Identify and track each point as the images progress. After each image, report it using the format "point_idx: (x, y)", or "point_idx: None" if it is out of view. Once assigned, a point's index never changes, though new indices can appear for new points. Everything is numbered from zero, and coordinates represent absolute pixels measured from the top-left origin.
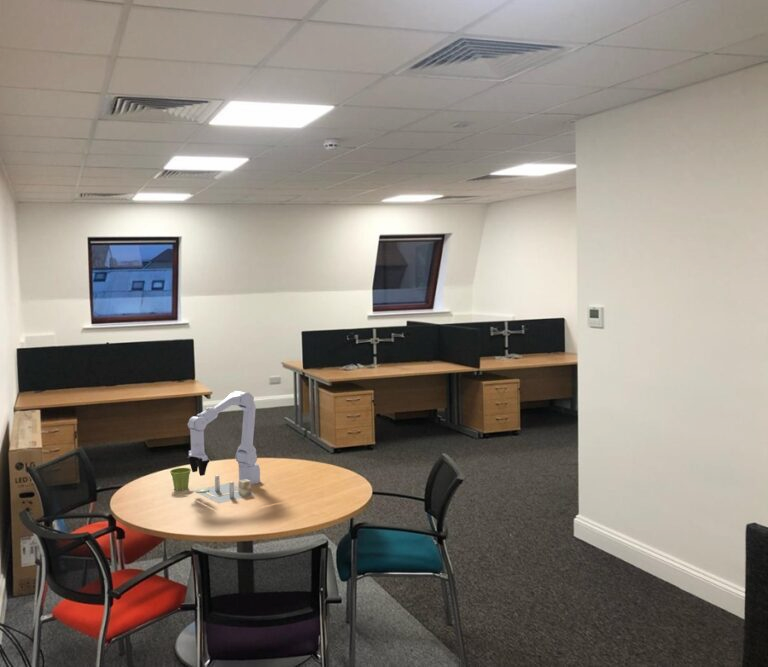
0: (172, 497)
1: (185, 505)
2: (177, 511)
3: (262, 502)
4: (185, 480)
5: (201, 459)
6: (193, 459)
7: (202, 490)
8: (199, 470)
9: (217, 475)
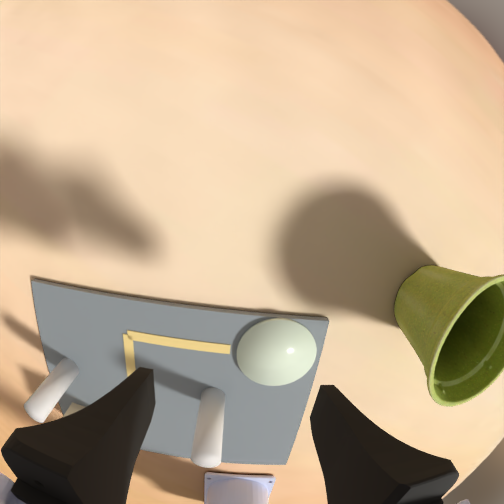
0: (331, 170)
1: (122, 141)
2: (77, 70)
3: (4, 384)
4: (414, 330)
5: (31, 500)
6: (358, 501)
7: (272, 351)
8: (112, 393)
9: (212, 463)
